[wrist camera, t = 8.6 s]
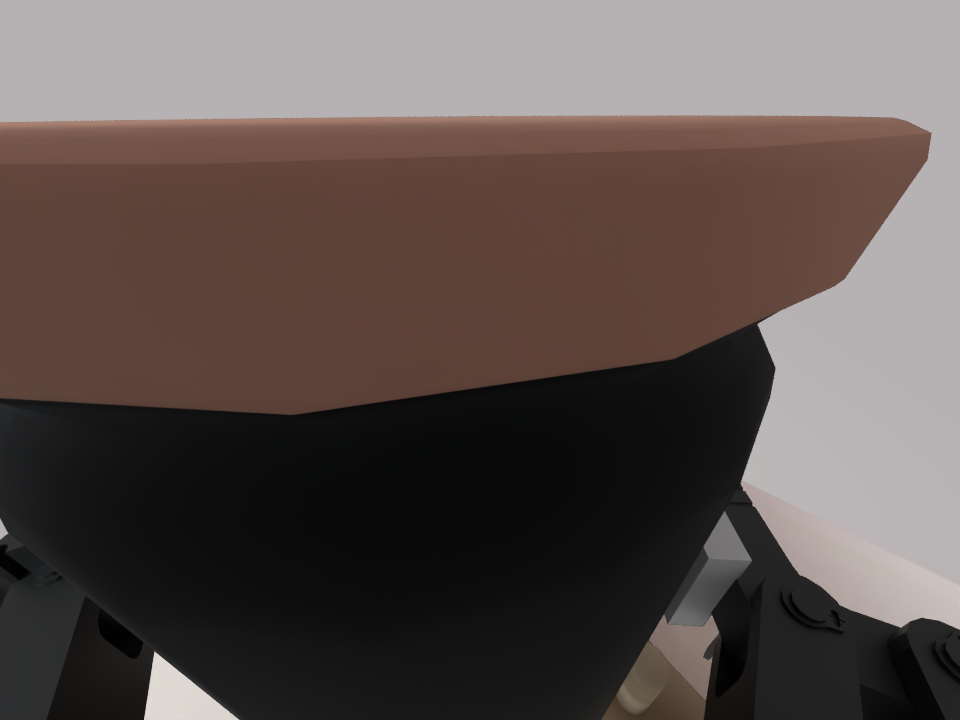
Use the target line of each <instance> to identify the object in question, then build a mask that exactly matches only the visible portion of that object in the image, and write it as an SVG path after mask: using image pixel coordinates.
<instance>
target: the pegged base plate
mask: <svg viewBox="0 0 960 720" xmlns="http://www.w3.org/2000/svg"><path fill="white" fill-rule="evenodd" d="M705 706H706V701H705V700H704V699H703V698H702V697H701V696H700V695H699V694H698V693H697V692H696V690H695V689H694V688H693V687H692V686H691V685H690V684H689V683H688V682H687V681H686V680H685V679H684V678H683V677H682V676H681V674H680V673H679V672H678V671H677V670H676V669H675V668H674V667H673V666H672V665H671V664H670V663H669V662H668V661H667V660H666V658H665V656H664V655H663V654H662V652H661V651H660V650H659V649H658V648H656V647H655V646H653V645H652V644H651V642H650V641H649V640H648V642H647V643H646V645H645V647H644V648H643V650H642V652H641V654H640V655H639V657H638V659H637V660H636V662H635V664H634V665H633V667H632V669H631V670H630V672H629V674H628V676H627V677H626V679H625V681H624V682H623V684H622V686H621V687H620V689H619V691H618V693H617V694H616V696H615V698H614V699H613V701H612V703H611V704H610V706H609V708H608V709H607V711H606V713H605V715H604V716H603V718H602V720H704V713H705Z"/></svg>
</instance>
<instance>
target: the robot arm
mask: <svg viewBox="0 0 960 720" xmlns="http://www.w3.org/2000/svg"><path fill="white" fill-rule="evenodd" d="M664 614H665V617H666V620H667V624H671V625H688V626H703V625H704V624H705V623H706V621H707V620H708V619H709V617H710V616H711V615H712V616H713V618H714V621H715V623H716V625H717V628H718V630H719V634H718V635H717V637H716V638H715V639H714V640H713V641H712V643H711V644H710V645H709V646H708V648H707V649H706V652H705V654H704V656H703V657H704V658H706V659H707V660H709V659H710V658H711V657H712V656H713V659H712V666H711V672H710V679H709V686H708V693H707V699H706V706H705V713H704V720H960V630H959V629H956V628H954V627H952V626H950V625H947V624H945V623H943V622H940V621H937V620H931V619H925V618H920V619H917V620H914V621H910V622H909V623H908V624H906V625H905V626H903V627H902V628H900V627H897V626H894V625H891V624H889V623H886V622H883V621H880V620H877V619H874V618H871V617H869V616H866V615H863V614H860V613H857V612H854V611H851V610H849V609H847V608H844V607H842V606H840V605H839V604H838V602H837V601H836V600H835V599H834V598H833V597H832V596H830V595H829V594H828V593H827V592H826V591H825V590H824V589H823V588H822V587H820V586H819V585H817V584H815V583H814V582H812V581H810V580H809V579H807V578H806V577H803V576H800V575H799V574H798V572H797V571H796V570H795V569H794V567H793V566H792V564H791V563H790V561H789V560H788V558H787V557H786V555H785V553H784V552H783V550H782V549H781V547H780V546H779V544H778V542H777V541H776V539H775V538H774V536H773V534H772V533H771V531H770V530H769V528H768V527H767V525H766V523H765V522H764V520H763V519H762V517H761V516H760V514H759V512H758V511H757V509H756V508H755V507H753V506H752V501H751V500H750V498H749V497H748V495H747V494H746V492H745V491H743V487H742V486H741V484H740V486H739V487H738V489H737V491H736V492H735V494H734V496H733V498H732V499H731V501H730V503H729V504H728V506H727V508H726V509H725V511H724V513H723V515H722V516H721V518H720V520H719V521H718V523H717V525H716V526H715V528H714V530H713V531H712V533H711V535H710V537H709V538H708V540H707V542H706V543H705V545H704V547H703V548H702V550H701V552H700V553H699V555H698V557H697V559H696V560H695V562H694V564H693V565H692V567H691V569H690V570H689V572H688V574H687V576H686V577H685V579H684V581H683V582H682V584H681V586H680V587H679V589H678V591H677V592H676V594H675V596H674V598H673V599H672V601H671V603H670V604H669V606H668V608H667V609H666V611H665V613H664ZM153 657H154V650H152V649H151V648H150V647H149V646H147V645H146V644H145V643H144V642H143V641H141V640H140V639H139V638H138V637H136V636H135V635H134V634H133V633H131V632H130V631H129V630H128V629H126V628H125V627H124V626H123V625H121V624H120V623H119V622H118V621H117V620H115V619H114V618H113V617H112V616H110V615H109V614H108V613H107V612H105V611H104V610H103V609H102V608H100V607H99V606H98V605H97V604H96V603H94V602H93V601H92V600H91V599H89V598H88V597H87V596H86V595H84V594H83V593H82V592H81V591H79V590H78V589H77V588H76V587H74V586H73V585H72V584H71V583H70V582H68V581H67V580H66V579H65V578H63V577H62V576H61V575H60V574H58V573H57V572H56V571H55V570H53V569H52V568H51V567H50V566H48V565H47V564H46V563H45V562H44V561H42V560H41V559H40V558H39V557H37V556H36V555H35V554H34V553H32V552H31V551H30V550H29V549H27V548H26V547H25V546H24V545H22V544H21V543H20V542H19V541H18V540H16V539H15V538H14V537H13V536H11V535H10V534H7V535H6V536H4V537H3V538H2V539H1V540H0V720H144V716H145V709H146V703H147V696H148V690H149V683H150V676H151V670H152V663H153Z"/></svg>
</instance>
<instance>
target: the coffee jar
mask: <svg viewBox="0 0 960 720" xmlns="http://www.w3.org/2000/svg"><path fill="white" fill-rule="evenodd" d="M930 139H931V133H930V132H928V131H926V130H924V129H922V128H920V127H918V126H916V125H913V124H912V123H909V122H907V121H904V120H900V119H897V118H883V117H838V116H482V117H481V116H475V117H474V116H470V117H363V118H362V117H359V118H358V117H357V118H356V117H353V118H268V119H266V118H265V119H192V120H191V119H189V120H188V119H185V120H120V121H119V120H117V121H116V120H115V121H59V122H58V121H56V122H55V121H54V122H0V519H1V521H2V522H3V524H4V526H5V528H6V530H7V532H8V533H9V534H10V535H11V536H13V537H14V538H15V539H16V540H18V541H19V542H20V543H21V544H22V545H24V546H25V547H26V548H27V549H29V550H30V551H31V552H32V553H34V554H35V555H36V556H37V557H39V558H40V559H41V560H42V561H44V562H45V563H46V564H47V565H48V566H50V567H51V568H52V569H53V570H55V571H56V572H57V573H58V574H60V575H61V576H62V577H63V578H65V579H66V580H67V581H68V582H70V583H71V584H72V585H73V586H74V587H76V588H77V589H78V590H79V591H81V592H82V593H83V594H84V595H86V596H87V597H88V598H89V599H91V600H92V601H93V602H94V603H96V604H97V605H98V606H99V607H100V608H102V609H103V610H104V611H105V612H107V613H108V614H109V615H110V616H112V617H113V618H114V619H115V620H117V621H118V622H119V623H120V624H121V625H123V626H124V627H125V628H126V629H128V630H129V631H130V632H131V633H133V634H134V635H135V636H136V637H138V638H139V639H140V640H141V641H143V642H144V643H145V644H146V645H147V646H149V647H150V648H151V649H152V650H154V651H155V652H156V653H157V654H159V655H160V656H161V657H162V658H164V659H165V660H166V661H167V662H169V663H170V664H171V665H172V666H173V667H175V668H176V669H177V670H178V671H180V672H181V673H182V674H183V675H185V676H186V677H187V678H188V679H190V680H191V681H192V682H193V683H195V684H196V685H197V686H198V687H199V688H201V689H202V690H203V691H204V692H206V693H207V694H208V695H209V696H211V697H212V698H213V699H214V700H216V701H217V702H218V703H219V704H220V705H222V706H223V707H224V708H225V709H227V710H228V711H229V712H230V713H232V714H233V715H234V716H235V717H237V718H238V719H239V720H602V718H603V716H604V715H605V713H606V711H607V709H608V708H609V706H610V704H611V703H612V701H613V699H614V698H615V696H616V694H617V693H618V691H619V689H620V687H621V686H622V684H623V682H624V681H625V679H626V677H627V676H628V674H629V672H630V670H631V669H632V667H633V665H634V664H635V662H636V660H637V659H638V657H639V655H640V654H641V652H642V650H643V648H644V647H645V645H646V643H647V642H648V640H649V638H650V637H651V635H652V633H653V631H654V630H655V628H656V626H657V625H658V623H659V621H660V620H661V618H662V616H663V615H664V613H665V611H666V609H667V608H668V606H669V604H670V603H671V601H672V599H673V598H674V596H675V594H676V592H677V591H678V589H679V587H680V586H681V584H682V582H683V581H684V579H685V577H686V576H687V574H688V572H689V570H690V569H691V567H692V565H693V564H694V562H695V560H696V559H697V557H698V555H699V553H700V552H701V550H702V548H703V547H704V545H705V543H706V542H707V540H708V538H709V537H710V535H711V533H712V531H713V530H714V528H715V526H716V525H717V523H718V521H719V520H720V518H721V516H722V515H723V513H724V511H725V509H726V508H727V506H728V504H729V503H730V501H731V499H732V498H733V496H734V494H735V492H736V491H737V489H738V487H739V486H740V483H741V480H742V477H743V474H744V471H745V468H746V465H747V462H748V459H749V456H750V454H751V451H752V448H753V445H754V442H755V439H756V436H757V434H758V431H759V428H760V425H761V422H762V419H763V416H764V413H765V410H766V407H767V405H768V402H769V399H770V394H771V389H772V384H773V379H774V374H775V366H774V363H773V361H772V358H771V356H770V353H769V351H768V349H767V346H766V344H765V341H764V339H763V337H762V334H761V332H760V329H759V327H758V325H757V324H758V323H760V322H761V321H763V320H765V319H767V318H768V317H770V316H772V315H773V314H775V313H777V312H779V311H781V310H783V309H785V308H787V307H790V306H792V305H794V304H796V303H798V302H801V301H803V300H805V299H807V298H809V297H812V296H814V295H816V294H818V293H820V292H823V291H825V290H827V289H829V288H832V287H834V286H835V285H837V284H838V283H840V282H841V281H842V280H844V279H845V278H846V276H847V275H848V273H849V272H850V270H851V269H852V267H853V266H854V265H855V263H856V262H857V260H858V259H859V257H860V256H861V254H862V253H863V252H864V250H865V249H866V247H867V246H868V244H869V243H870V241H871V240H872V239H873V237H874V236H875V234H876V233H877V231H878V230H879V229H880V227H881V226H882V224H883V223H884V221H885V219H886V218H887V217H888V215H889V214H890V213H891V211H892V210H893V208H894V207H895V206H896V204H897V203H898V201H899V200H900V198H901V197H902V195H903V194H904V193H905V191H906V190H907V188H908V187H909V185H910V184H911V182H912V181H913V179H914V178H915V177H916V175H917V174H918V172H919V171H920V170H921V168H922V167H923V165H924V164H925V162H926V161H927V159H928V151H929V145H930Z"/></svg>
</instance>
